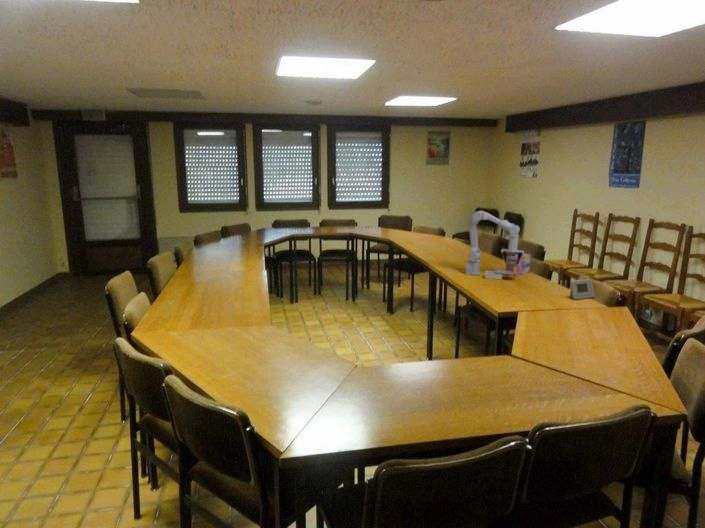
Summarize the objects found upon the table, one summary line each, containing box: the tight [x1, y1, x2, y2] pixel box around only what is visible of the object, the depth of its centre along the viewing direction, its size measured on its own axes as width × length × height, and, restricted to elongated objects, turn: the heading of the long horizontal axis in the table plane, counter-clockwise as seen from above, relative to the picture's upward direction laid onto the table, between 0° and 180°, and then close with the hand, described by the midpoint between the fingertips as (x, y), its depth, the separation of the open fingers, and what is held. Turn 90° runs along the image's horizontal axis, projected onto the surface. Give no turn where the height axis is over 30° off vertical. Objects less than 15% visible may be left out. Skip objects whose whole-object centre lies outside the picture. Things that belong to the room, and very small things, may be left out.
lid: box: [494, 267, 517, 275], centre depth 321 cm, size 14×9×4 cm, turn 74°
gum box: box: [505, 253, 532, 277], centre depth 338 cm, size 24×8×14 cm, turn 136°
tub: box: [484, 270, 503, 280], centre depth 324 cm, size 11×8×4 cm
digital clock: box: [569, 278, 595, 301], centre depth 277 cm, size 16×9×11 cm, turn 102°
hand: (511, 263), depth 322 cm, fingers open, 7 cm apart
